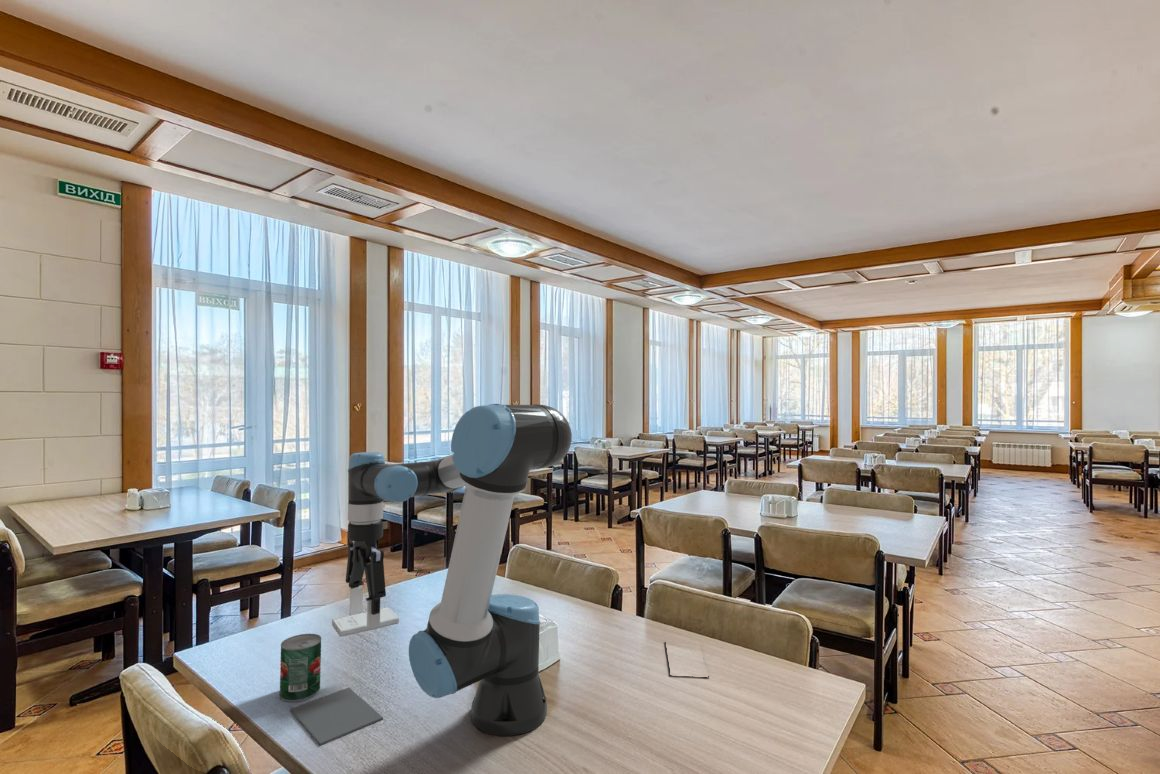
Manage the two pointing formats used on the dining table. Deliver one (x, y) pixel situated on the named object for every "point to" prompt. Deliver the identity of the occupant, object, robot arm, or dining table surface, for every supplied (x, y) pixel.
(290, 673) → the canned tomato
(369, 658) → the dining table surface
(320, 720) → the mat
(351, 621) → the external hard drive
